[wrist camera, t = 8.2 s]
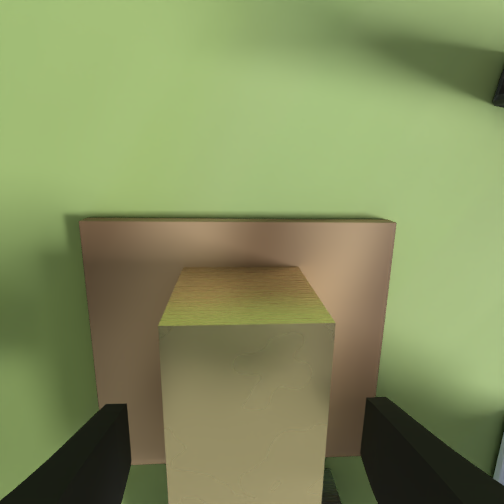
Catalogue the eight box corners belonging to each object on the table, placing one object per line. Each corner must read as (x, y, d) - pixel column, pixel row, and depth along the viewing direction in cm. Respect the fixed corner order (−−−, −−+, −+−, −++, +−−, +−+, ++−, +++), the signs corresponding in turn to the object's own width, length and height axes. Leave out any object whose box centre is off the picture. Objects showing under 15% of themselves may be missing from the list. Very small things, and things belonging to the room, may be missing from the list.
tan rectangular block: (298, 266, 14) (335, 323, 9) (289, 454, 16) (315, 580, 11) (183, 267, 14) (157, 325, 9) (190, 458, 16) (173, 589, 11)
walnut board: (387, 219, 14) (396, 222, 14) (362, 442, 17) (368, 455, 16) (87, 217, 14) (78, 221, 13) (111, 451, 16) (105, 465, 16)
